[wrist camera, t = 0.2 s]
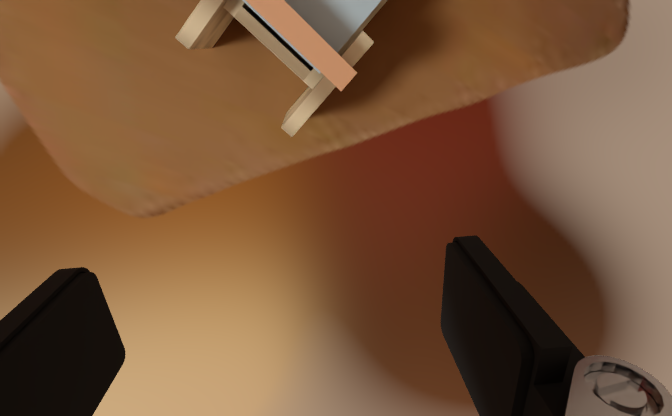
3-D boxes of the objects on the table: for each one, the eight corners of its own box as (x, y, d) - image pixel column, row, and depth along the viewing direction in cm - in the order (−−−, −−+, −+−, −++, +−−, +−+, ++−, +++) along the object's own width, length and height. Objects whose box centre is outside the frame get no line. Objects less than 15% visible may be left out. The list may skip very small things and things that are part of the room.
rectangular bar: (230, -53, 26) (224, -60, 24) (354, 71, 29) (357, 72, 28) (215, -30, 26) (207, -36, 24) (339, 88, 30) (341, 91, 28)
